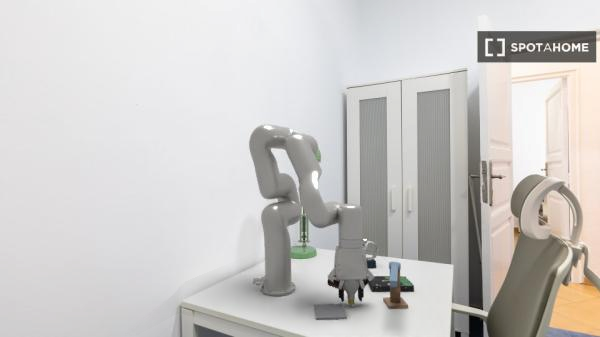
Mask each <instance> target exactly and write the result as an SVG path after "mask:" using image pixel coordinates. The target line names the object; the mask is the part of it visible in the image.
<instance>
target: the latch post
mask: <svg viewBox="0 0 600 337" xmlns="http://www.w3.org/2000/svg"><path fill="white" fill-rule="evenodd" d="M390 272H391V269H389V273H390ZM400 276H401V269H400V270H398V282H397V287H391V286H390V292H389V297H382V298H383V299H382V300H383V303H384V304H385V305H386V306H387V308H388V309H389V310H390V309H391V310H394V309H409V304H408V303H407V302H406V300H404V298H403V297H402V296H401V292H400Z"/></svg>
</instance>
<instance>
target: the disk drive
mask: <svg viewBox="0 0 600 337" xmlns="http://www.w3.org/2000/svg"><path fill="white" fill-rule="evenodd" d="M389 280H390V275H374V278H373V279H372V280H371V281H369V283H368V284H367V285H368V286H369V288H370V290H371V292H372V293H390V281H389ZM414 292H415V284H413V283H412V282H411V281H410V280H409V279H408V278H407V276H404V275H403V276H401V275H400V293H414Z"/></svg>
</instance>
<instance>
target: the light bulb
mask: <svg viewBox="0 0 600 337" xmlns="http://www.w3.org/2000/svg"><path fill="white" fill-rule="evenodd" d="M359 285H360V282H359V280H356V279H350V280H344V283H343V287H344V289H345V291H344V292H345V293H346V294H347V297H346V298H347V304H348V305H349V306H351V307H353V306H354V305H355V297H356V296H355V295H356V293H357V292H358V288H359Z"/></svg>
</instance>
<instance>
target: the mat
mask: <svg viewBox="0 0 600 337" xmlns="http://www.w3.org/2000/svg"><path fill="white" fill-rule="evenodd" d="M313 307H314V313H315V319H316V321H320V320H321V321H323V320H347V319H348V316H347V314H346V310H345V307H344V305H343V303H323V304H321V303H320V304H318V303H315V304H313Z"/></svg>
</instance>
